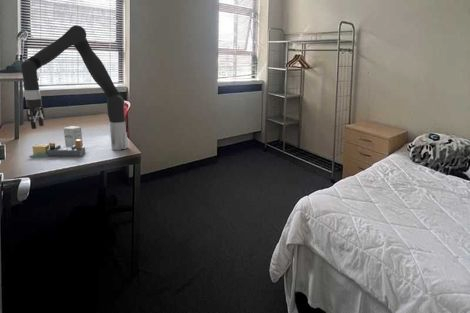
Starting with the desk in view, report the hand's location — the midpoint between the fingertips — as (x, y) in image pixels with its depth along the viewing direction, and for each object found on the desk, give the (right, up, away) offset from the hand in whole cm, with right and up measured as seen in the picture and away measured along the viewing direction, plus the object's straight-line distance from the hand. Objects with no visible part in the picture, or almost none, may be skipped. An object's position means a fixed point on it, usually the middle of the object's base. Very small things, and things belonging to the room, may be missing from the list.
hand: (37, 127), depth 188 cm
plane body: (+14, -16, +6) cm, 21 cm away
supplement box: (+9, -11, +24) cm, 28 cm away
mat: (0, -16, +5) cm, 16 cm away
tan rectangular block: (0, -15, +4) cm, 16 cm away
